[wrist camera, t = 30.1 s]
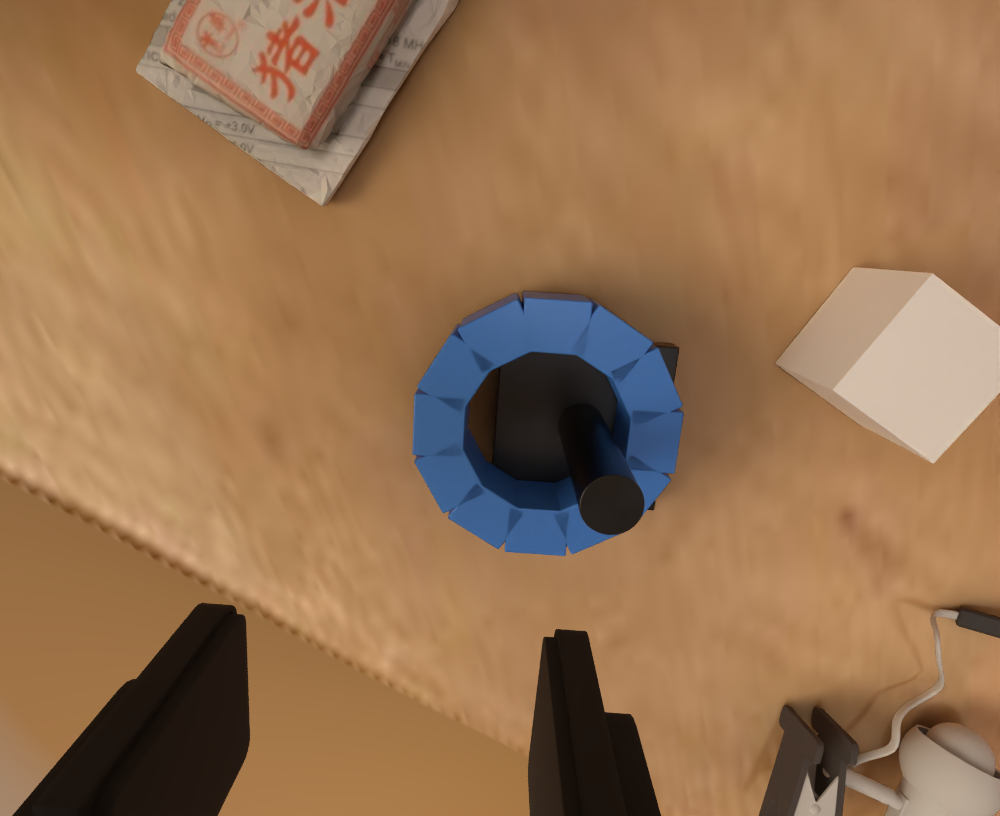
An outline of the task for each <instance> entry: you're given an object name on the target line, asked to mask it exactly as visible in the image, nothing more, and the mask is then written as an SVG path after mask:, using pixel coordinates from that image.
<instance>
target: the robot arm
mask: <svg viewBox="0 0 1000 816" xmlns="http://www.w3.org/2000/svg"><path fill="white" fill-rule="evenodd" d="M247 670H248V668H247V639H246V620H245V616H244V615H240V614H237V612H236V608H235V607H234V606H232V605H222V604H221V605H220V604H207V603H201V604H199V605H197V606H196V607H195V608H194V610H193V611H192V612H191V613H190V615H189V616H188V617H187V618H186V619H185V620H184V622H183V623H182V624H181V625H180V627H179V628H178V629H177V630H176V631H175V633H174V634H173V635H172V636H171V637H170V639H169V640H168V641H167V642H166V644H165V645H164V646H163V647H162V648H161V650H160V651H159V652H158V653H157V655H156V656H155V657H154V658H153V659H152V661H151V662H150V663H149V664H148V666H147V667H146V668H145V669H144V670H143V671H142V673H141V674H140V675H139V676H138V677H137V679H132V680H130V681H128V682H126V683H125V684H124V685H123V686H122V687H121V688H120V689H119V690H118V691H117V692H116V694H115V695H114V696H113V697H112V698H111V699H110V701H109V702H108V703H107V704H106V705H105V707H104V708H103V709H102V710H101V711H100V712H99V714H98V715H97V716H96V717H95V719H94V720H93V721H92V722H91V723H90V724H89V726H88V727H87V728H86V729H85V730H84V731H83V733H82V734H81V735H80V736H79V738H78V739H77V740H76V741H75V742H74V743H73V745H72V746H71V747H70V748H69V749H68V750H67V752H66V753H65V754H64V755H63V756H62V757H61V759H60V760H59V761H58V762H57V763H56V765H55V766H54V767H53V768H52V769H51V771H50V772H49V773H48V774H47V775H46V777H45V778H44V779H43V780H42V781H41V782H40V784H39V785H38V786H37V787H36V788H35V790H34V791H33V792H32V793H31V794H30V795H29V797H28V798H27V799H26V800H25V801H24V803H23V804H22V805H21V806H20V807H19V809H18V810H17V811H16V812H15V813H14V814H13V816H218V814H219V812H220V809H221V807H222V805H223V803H224V801H225V799H226V797H227V795H228V793H229V791H230V789H231V787H232V785H233V783H234V781H235V779H236V777H237V775H238V773H239V771H240V769H241V767H242V765H243V763H244V760H245V758H246V755H247V751H248V747H249V741H250V726H249V696H248V671H247ZM528 784H529V803H530V804H529V805H530V816H661V814H660V810H659V807H658V803H657V800H656V796H655V792H654V789H653V785H652V781H651V778H650V774H649V771H648V767H647V763H646V760H645V756H644V752H643V749H642V745H641V741H640V738H639V734H638V731H637V727H636V724H635V721H634V718H633V717H632V716H631V714H620V713H606V712H605V711H604V707H603V702H602V697H601V693H600V688H599V684H598V679H597V674H596V670H595V665H594V661H593V656H592V651H591V647H590V642H589V638H588V634H587V632H586V631H575V630H561V629H556V630H555V634H554V637H544V638H543V644H542V652H541V660H540V669H539V677H538V685H537V694H536V702H535V710H534V719H533V727H532V735H531V744H530V752H529V764H528Z"/></svg>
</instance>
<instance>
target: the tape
mask: <svg viewBox="0 0 1000 816" xmlns="http://www.w3.org/2000/svg"><path fill="white" fill-rule="evenodd" d="M530 352H540V353H554V354H568V355H577V356H579V357H580V358H581V359H583V360H584V361H586V362H587V363H589V364H590V365H592V366H593V367H595V368H596V369H598V370H599V371H601V372H602V373H603V374H605V375H606V376H607V378H608V380H609V382H610V384H611V387H612V389H613V391H614V393H615V395H616V398H617V408H616V416H615V424H614V432H613V438H614V439H615V441H616V443H617V445H618V447H619V449H620V451H621V453H622V455H623V456H624V458H625V460H626V462H627V464H628V466H629V468H630V470H631V472H632V474H633V475H634V477H635V479H636V481H637V483H638V485H639V487H640V489H641V491H642V493H643V495H644V500H645V507H644V512H643V514H644V513H645V512H646V511H647V509H648V508H649V507H650V506H651V504H652V503H653V502H654V501H655V499H656V498H657V497H658V496H659V494H660V493H661V492H662V491H663V490H664V488H665V487H666V486H667V485H668V483H669V482H670V481H671V478H670V477H669V475H668V474H667V473H675V467H676V460H677V454H678V447H679V441H680V434H681V428H682V422H683V415H684V413H683V412H682V411H681V410H680V409H679V408H680V407H682V406H683V405H682V402H681V400H680V398H679V395H678V393H677V391H676V388H675V386H674V383H673V381H672V379H671V376H670V374H669V372H668V369H667V367H666V365H665V362H664V360H663V358H662V355H661V353H660V351H659V349H658V348H657V347H656V346H654V345H653V341H651V340H650V339H648V338H647V337H646V336H644V335H643V334H641V333H640V332H639V331H637V330H636V329H634V328H633V327H631V326H630V325H629V324H627V323H626V322H624V321H623V320H621V319H620V318H619V317H617V316H616V315H614V314H613V313H611V312H610V311H609V310H607V309H606V308H604V307H603V306H601V305H600V304H599V303H597V302H596V301H594V300H593V299H591V298H589V299H587V298H586V297H584V296H583V295H574V294H560V293H546V292H532V291H523V298H522V302H521V300H520V298H519V296H518V294H517V293H514V294H512V295H510V296H508V297H506V298H504V299H502V300H500V301H498V302H496V303H494V304H492V305H490V306H488V307H486V308H484V309H481V310H479V311H477V312H475V313H473V314H471V315H469V316H467V317H465V318H464V319H463V320H462V322H461V324H457V325H456V327H455V328H454V330H453V331H452V333H451V334H450V336H449V337H448V339H447V341H446V342H445V344H444V345H443V347H442V348H441V350H440V351H439V353H438V354H437V356H436V357H435V359H434V360H433V362H432V363H431V365H430V366H429V368H428V370H427V371H426V373H425V374H424V376H423V377H422V379H421V380H420V382H419V384H418V385H417V387H418V390H417V391H416V393H415V395H414V419H413V449H412V454H413V455H417V457H416V459H415V464H416V466H417V468H418V469H419V471H420V473H421V475H422V477H423V478H424V480H425V482H426V484H427V486H428V487H429V489H430V491H431V493H432V495H433V496H434V498H435V500H436V502H437V504H438V505H439V507H440V509H441V511H442V512H443V513H445V512H447V511H450V512H449V516H448V518H449V519H450V520H452V521H453V522H455V523H457V524H458V525H460V526H461V527H463V528H465V529H466V530H468V531H470V532H471V533H473V534H474V535H476V536H478V537H479V538H481V539H483V540H484V541H486V542H487V543H489V544H491V545H492V546H494V547H496V548H497V549H499V548H500V547H501V546H502V544H503V543H504V542H505V552H516V553H531V554H545V555H559V556H565V555H566V546H568V548H569V550H570V552H571V553H572V554H574V553H577V552H579V551H581V550H584V549H586V548H588V547H591V546H593V545H595V544H598V543H600V542H602V541H605V540H607V539H609V538H612V537H614V536H617V535H619V534H617V535H605V534H601V533H598V532H596V531H594V530H592V529H591V528H589V527H588V526H587V525H586V524H585V522H584V521H583V519H582V517H581V515H580V511H579V507H578V504H577V500H576V496H575V492H574V488H573V484H572V480H571V476H570V477H568V478H565V479H563V480H561V481H559V482H556V483H551V482H537V481H522V480H516V479H514V478H513V477H511V476H510V475H508V474H507V473H505V472H503V471H502V470H500V469H499V468H497V467H496V466H494V465H492V464H491V463H489V462H488V461H486V460H485V458H484V456H483V454H482V452H481V450H480V448H479V446H478V445H477V443H476V441H475V439H474V437H473V435H472V433H471V431H470V429H469V427H468V426H469V408H470V400H471V399H472V397H473V396H474V395H475V393H476V392H477V390H478V389H479V387H480V386H481V384H482V383H483V381H484V380H485V378H486V377H487V376H488V374H489V373H490V371H492V370H494V369H496V368H498V367H500V366H502V365H505V364H507V363H509V362H511V361H513V360H515V359H517V358H519V357H521V356H523V355H525V354H528V353H530ZM643 514H642V516H643ZM642 516H641V517H642Z"/></svg>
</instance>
